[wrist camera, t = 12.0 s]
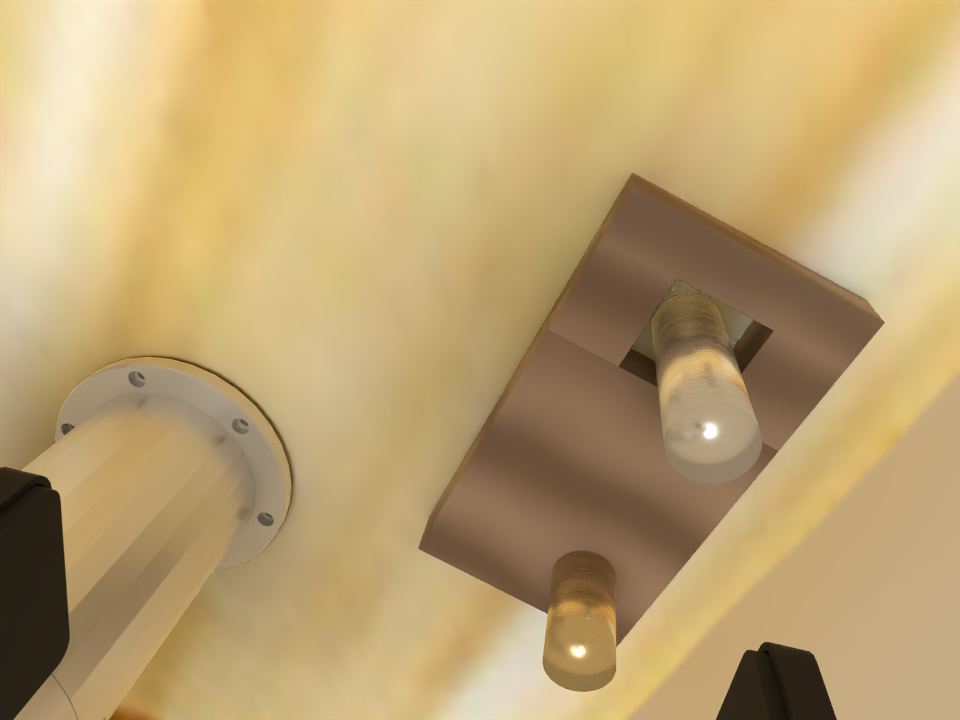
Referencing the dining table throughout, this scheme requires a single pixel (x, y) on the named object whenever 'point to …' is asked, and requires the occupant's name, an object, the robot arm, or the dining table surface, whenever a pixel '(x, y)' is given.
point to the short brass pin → (581, 622)
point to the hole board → (635, 407)
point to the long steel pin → (702, 393)
